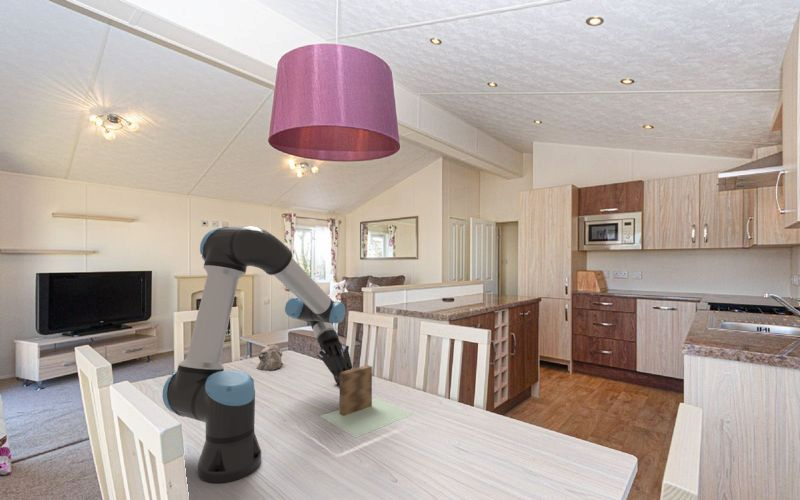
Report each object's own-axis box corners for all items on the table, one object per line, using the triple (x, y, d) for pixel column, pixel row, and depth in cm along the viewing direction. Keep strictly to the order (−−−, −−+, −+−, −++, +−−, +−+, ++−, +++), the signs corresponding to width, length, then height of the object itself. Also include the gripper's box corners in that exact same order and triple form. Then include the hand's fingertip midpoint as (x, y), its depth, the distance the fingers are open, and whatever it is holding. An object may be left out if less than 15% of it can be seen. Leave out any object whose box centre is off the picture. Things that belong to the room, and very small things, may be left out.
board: (343, 415, 129) (343, 374, 129) (339, 413, 131) (339, 372, 131) (371, 406, 137) (371, 366, 137) (367, 404, 139) (367, 365, 139)
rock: (286, 368, 183) (286, 347, 183) (260, 373, 176) (260, 351, 176) (277, 361, 195) (278, 341, 195) (253, 364, 189) (253, 344, 189)
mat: (355, 440, 114) (355, 437, 114) (319, 418, 129) (319, 416, 129) (412, 416, 130) (412, 414, 130) (375, 399, 145) (375, 397, 145)
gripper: (336, 337, 155) (361, 390, 142) (307, 343, 146) (331, 399, 134) (343, 326, 151) (370, 379, 139) (314, 331, 142) (340, 388, 130)
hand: (351, 389), depth 136 cm, fingers closed
